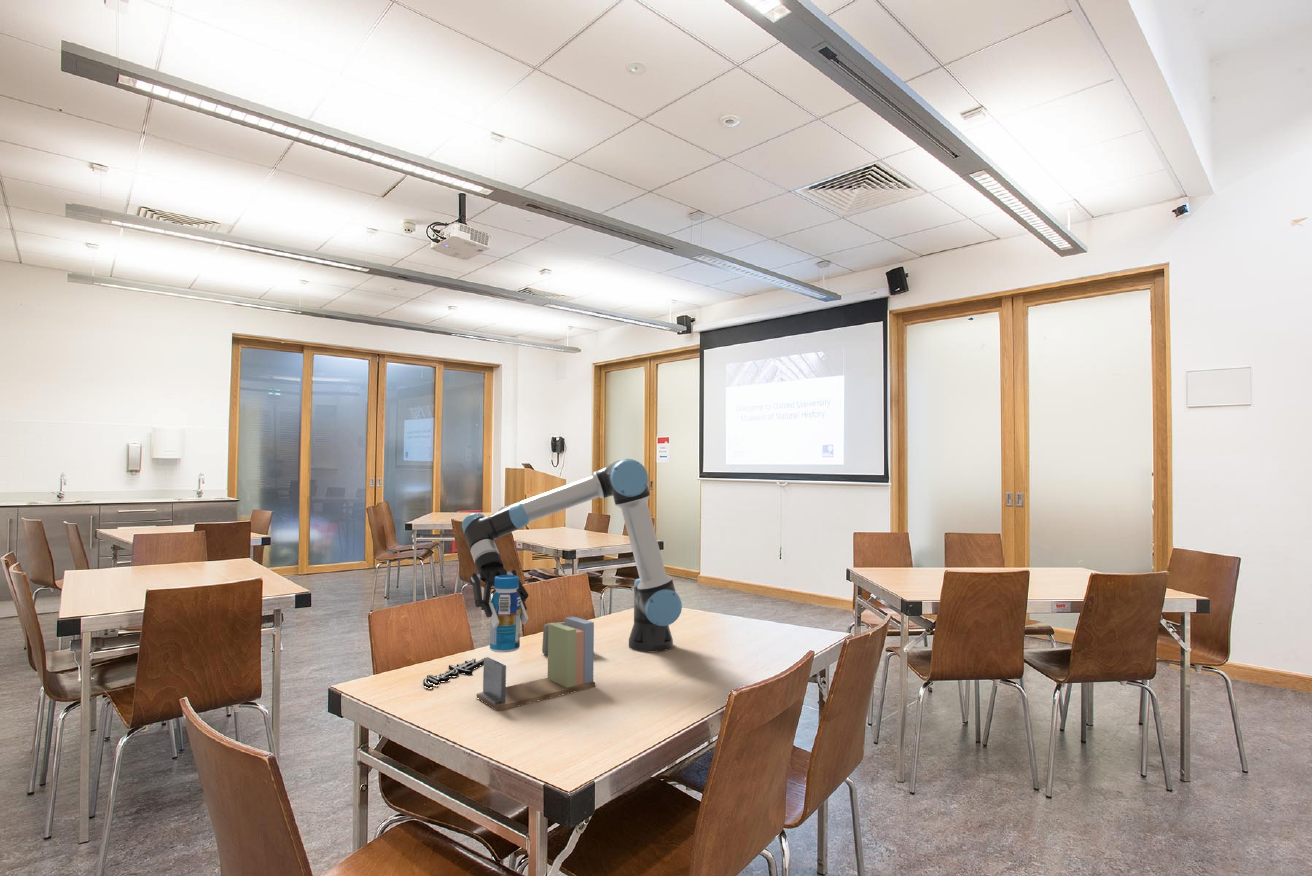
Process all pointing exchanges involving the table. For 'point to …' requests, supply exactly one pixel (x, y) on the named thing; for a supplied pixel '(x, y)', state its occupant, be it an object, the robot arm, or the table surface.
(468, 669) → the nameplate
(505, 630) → the beverage bottle
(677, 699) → the table surface
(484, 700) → the shelf board
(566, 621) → the book row
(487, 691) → the bookend
